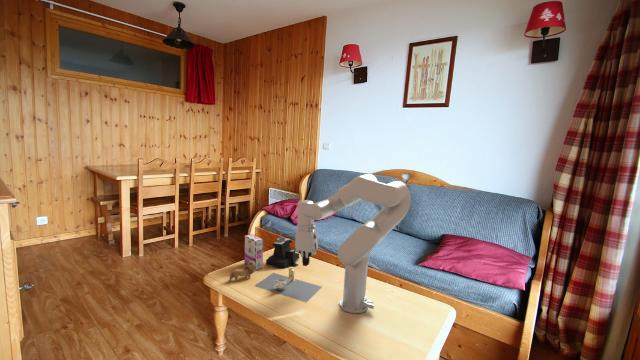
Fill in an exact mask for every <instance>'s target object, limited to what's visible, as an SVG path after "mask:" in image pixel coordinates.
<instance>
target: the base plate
mask: <svg viewBox="0 0 640 360" xmlns="http://www.w3.org/2000/svg"><path fill="white" fill-rule="evenodd" d="M288 277H289V276H286V275H283V274H279V273H275V272H272V273H271V274H269V275H268V276H266V277H264V278H263V279H262V280H261V281H259V282H258V283H256V284H254V287H256V288H259V289H263V290H266V291H269V292H273V293H275V294H279V295H281V296H285V297H287V298H290V299H291V298H292V299H293V300H294V299H295V300H298V301H301V302H304V303H307V302H309V301H310V299H312V297H314V295H316V294H317V293H318V291H320V290H321V289H322V288H323V286H322V285H319V284H314V283H311V282H307V281H303V280H300V279H296V278H294V280H293V281H290V282H289V283H288V284H287V285H286V289H285V290H283V291H277V290H275V289H274V288H273V286H274V285H275V283H274V280H285V279H286V278H288Z"/></svg>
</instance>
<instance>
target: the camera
mask: <svg viewBox="0 0 640 360" xmlns="http://www.w3.org/2000/svg"><path fill="white" fill-rule="evenodd" d="M276 240H277V241H274V242H273V243H272V247H274V249H273V254H272V255H270V256H269V257H268V258H267V259H266V260H265V264H266V266H268V267H269V266H270V267H274V268H281V269H286V268H288V267H293V268H297V266H299V264H298V263H296V261H298V260H299V259H300V253H299V252H296V249H292V248H291V246H290V244H291V243H293V240H291V239H290V238H286V237H279V238H276Z"/></svg>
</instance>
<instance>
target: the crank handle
mask: <svg viewBox="0 0 640 360" xmlns="http://www.w3.org/2000/svg"><path fill="white" fill-rule="evenodd" d="M287 277H288V278H286V279H285V280H274V283H275V285H274V286H273V288H274V289H275V290H277V291H283V290H285V289H286V285H287V284H288V283H289V282H290V281H293V280H294V279H295V269H294V267H293V268H289V269H288V276H287Z"/></svg>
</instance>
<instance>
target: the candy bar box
mask: <svg viewBox="0 0 640 360" xmlns="http://www.w3.org/2000/svg"><path fill="white" fill-rule="evenodd" d="M263 253H264V239H263V238H261V237H260V236H257V235H256V234H255V235H254V234H252V233H250V234H248V235H247V234H246V235H244V265H245V266H247V265H248V262H250V261H254V262H255V265H256V266H255V270H254V271H258V270H262V269H263V265H264V264H263V261H264V260H263V258H264V254H263Z"/></svg>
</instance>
